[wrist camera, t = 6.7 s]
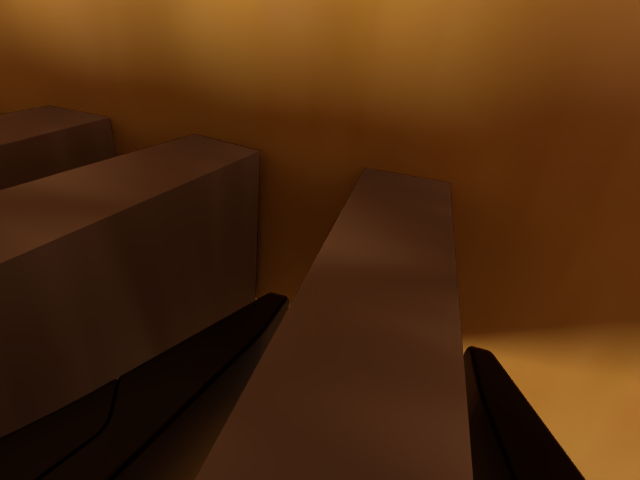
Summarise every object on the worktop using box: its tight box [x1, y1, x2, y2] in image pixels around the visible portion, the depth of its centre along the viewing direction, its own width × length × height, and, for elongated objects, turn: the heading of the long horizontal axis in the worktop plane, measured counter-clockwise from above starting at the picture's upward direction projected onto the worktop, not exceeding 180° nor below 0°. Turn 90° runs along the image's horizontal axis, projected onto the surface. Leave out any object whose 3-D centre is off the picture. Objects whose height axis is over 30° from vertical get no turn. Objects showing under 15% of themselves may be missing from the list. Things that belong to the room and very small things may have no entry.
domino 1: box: [0, 134, 259, 438], centre depth 8 cm, size 2×5×8 cm, turn 174°
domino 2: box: [195, 168, 473, 480], centre depth 7 cm, size 2×5×8 cm, turn 174°
